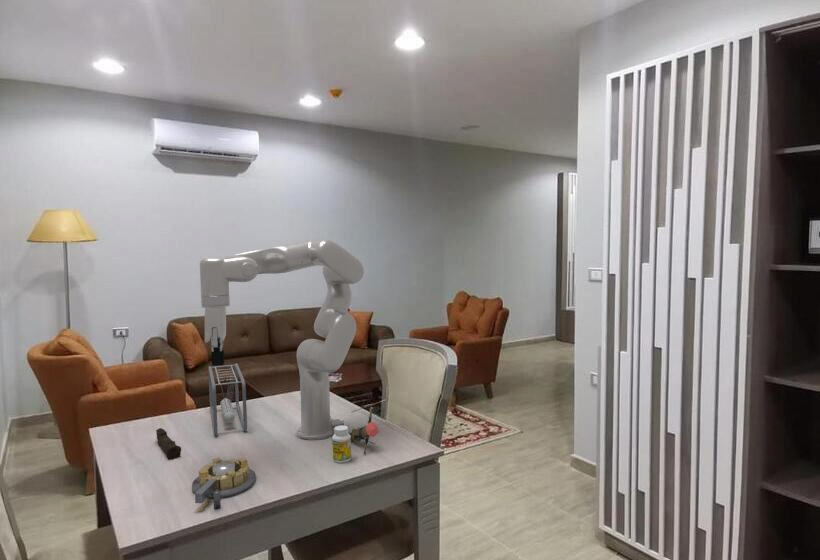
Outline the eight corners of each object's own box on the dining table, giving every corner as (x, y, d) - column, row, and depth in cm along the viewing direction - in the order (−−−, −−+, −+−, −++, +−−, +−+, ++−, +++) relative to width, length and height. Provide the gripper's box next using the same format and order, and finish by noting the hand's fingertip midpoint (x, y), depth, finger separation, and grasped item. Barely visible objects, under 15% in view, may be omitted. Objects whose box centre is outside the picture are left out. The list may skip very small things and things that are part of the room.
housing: (257, 467, 147) (256, 450, 147) (253, 505, 127) (252, 485, 126) (197, 474, 143) (196, 456, 143) (183, 514, 123) (182, 493, 122)
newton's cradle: (247, 433, 173) (245, 381, 172) (214, 438, 169) (212, 385, 168) (238, 406, 201) (237, 362, 199) (210, 410, 197) (208, 364, 195)
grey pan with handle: (213, 468, 144) (212, 454, 144) (256, 469, 143) (255, 456, 143) (174, 504, 125) (173, 489, 124) (223, 506, 124) (223, 491, 123)
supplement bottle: (354, 456, 154) (353, 425, 153) (346, 464, 149) (345, 431, 148) (337, 454, 155) (336, 423, 155) (329, 462, 150) (328, 430, 150)
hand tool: (181, 457, 155) (181, 442, 155) (167, 461, 153) (166, 446, 152) (167, 438, 170) (167, 425, 170) (154, 441, 168) (154, 427, 167)
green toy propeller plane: (358, 466, 166) (395, 457, 152) (332, 458, 161) (367, 448, 147) (366, 417, 174) (401, 405, 161) (341, 408, 170) (376, 395, 156)
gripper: (205, 298, 153) (207, 359, 155) (197, 305, 139) (200, 372, 140) (231, 297, 155) (234, 358, 156) (226, 304, 140) (229, 370, 142)
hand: (218, 364), depth 148 cm, fingers closed
